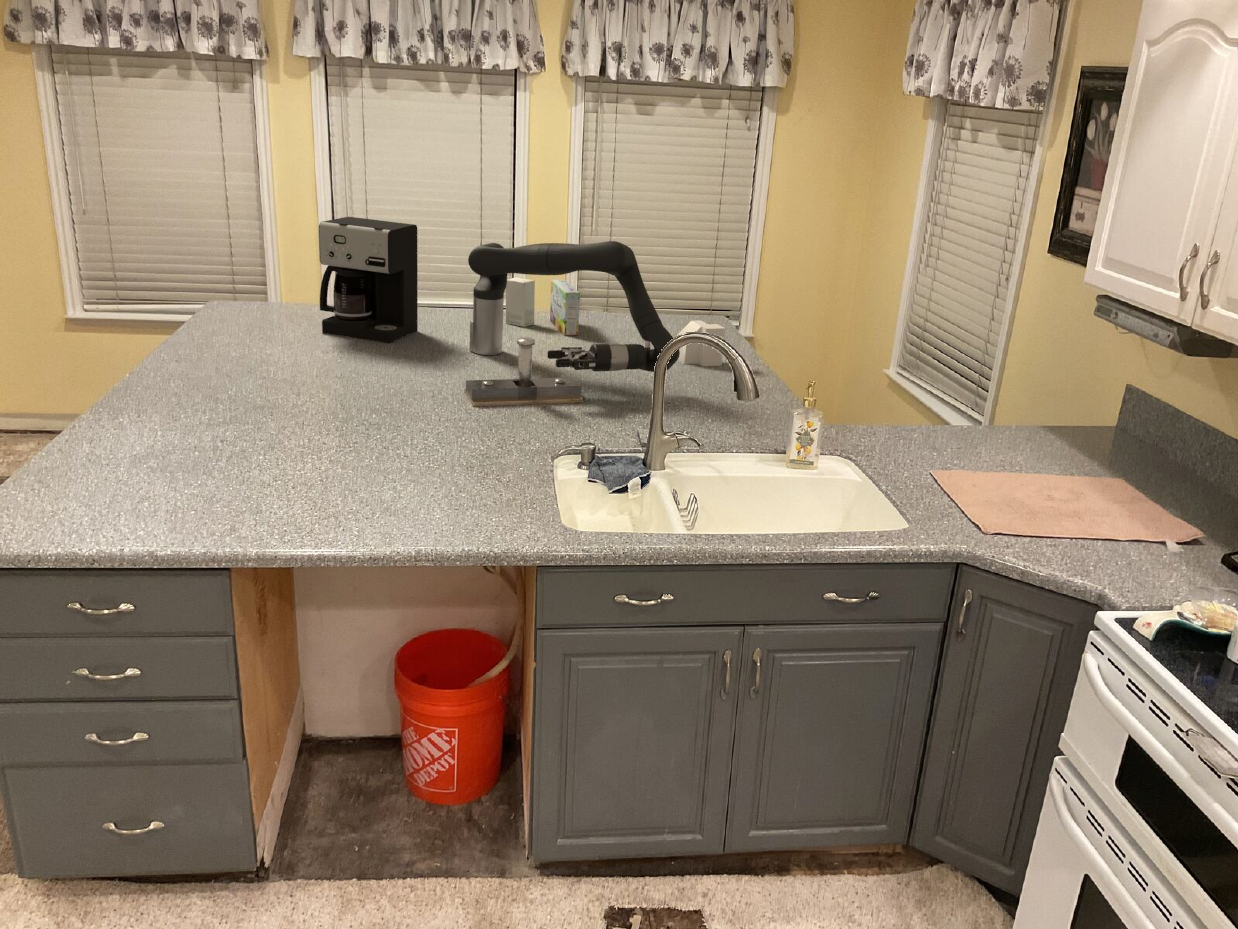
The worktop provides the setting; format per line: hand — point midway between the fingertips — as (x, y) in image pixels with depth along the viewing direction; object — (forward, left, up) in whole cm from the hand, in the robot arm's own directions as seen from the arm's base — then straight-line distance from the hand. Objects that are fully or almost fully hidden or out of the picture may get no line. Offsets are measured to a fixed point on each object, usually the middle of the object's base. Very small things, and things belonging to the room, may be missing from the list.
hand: (551, 358), depth 273 cm
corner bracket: (+24, +60, -11) cm, 66 cm away
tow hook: (+4, +56, -11) cm, 57 cm away
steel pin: (-6, -5, -10) cm, 12 cm away
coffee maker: (-80, +30, -11) cm, 86 cm away
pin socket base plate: (-6, -5, -11) cm, 13 cm away
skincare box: (-44, +70, -11) cm, 83 cm away
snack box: (-29, +74, -11) cm, 80 cm away
